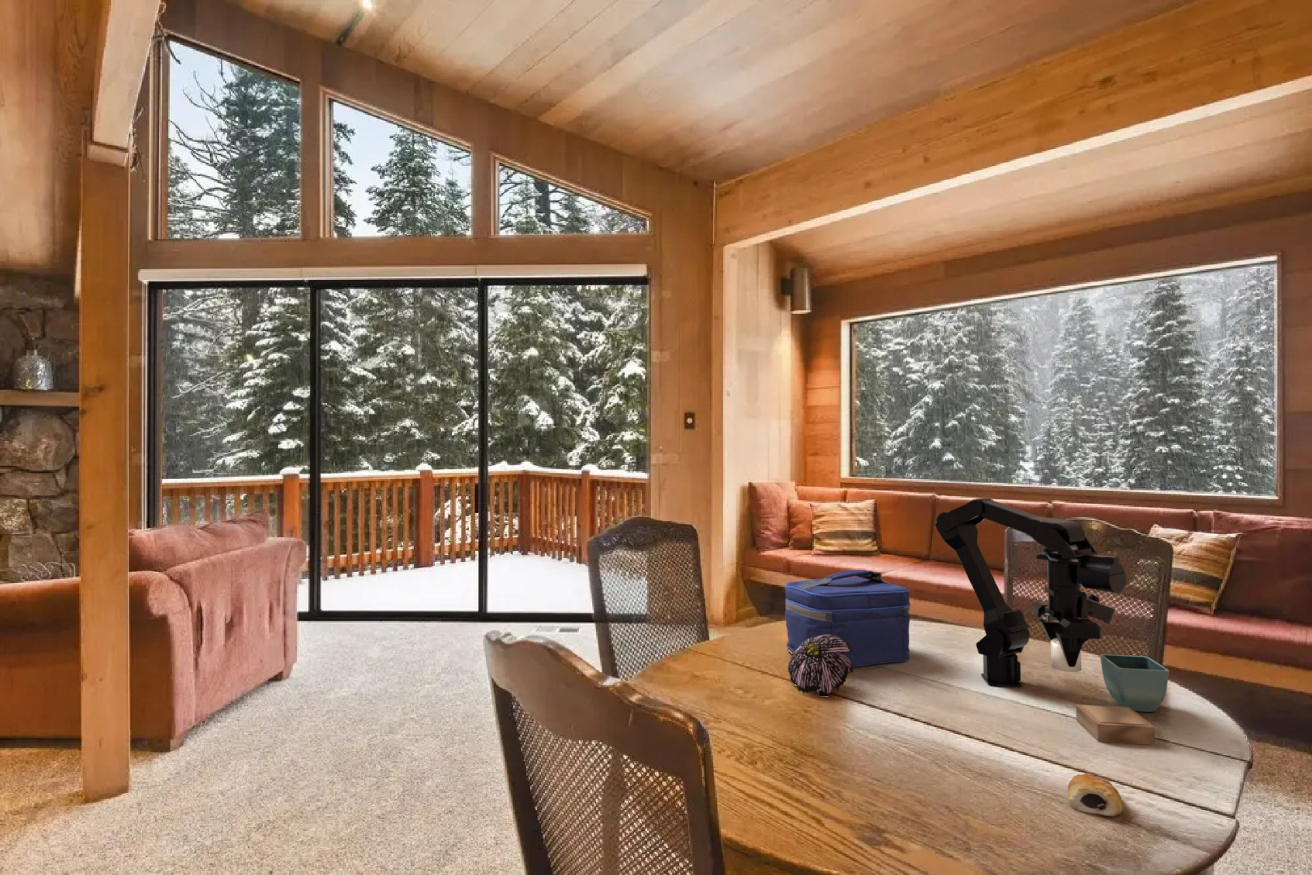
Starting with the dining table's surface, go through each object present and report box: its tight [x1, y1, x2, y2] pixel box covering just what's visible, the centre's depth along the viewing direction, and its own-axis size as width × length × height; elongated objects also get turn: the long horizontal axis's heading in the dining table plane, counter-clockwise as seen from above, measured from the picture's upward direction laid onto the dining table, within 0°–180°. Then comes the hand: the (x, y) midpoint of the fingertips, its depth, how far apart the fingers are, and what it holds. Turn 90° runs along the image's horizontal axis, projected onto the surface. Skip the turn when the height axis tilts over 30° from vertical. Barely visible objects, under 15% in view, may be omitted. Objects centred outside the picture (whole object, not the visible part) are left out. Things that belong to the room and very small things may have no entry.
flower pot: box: [1099, 653, 1170, 713], centre depth 135 cm, size 9×9×9 cm
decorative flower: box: [787, 634, 854, 697], centre depth 149 cm, size 14×12×15 cm
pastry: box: [1067, 772, 1124, 817], centre depth 101 cm, size 9×7×4 cm
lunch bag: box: [784, 569, 911, 668], centre depth 171 cm, size 31×21×20 cm
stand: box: [1075, 704, 1156, 745], centre depth 124 cm, size 9×9×3 cm
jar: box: [1050, 638, 1082, 673], centre depth 137 cm, size 5×5×5 cm
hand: (1066, 662), depth 137 cm, fingers closed on jar, 5 cm apart
